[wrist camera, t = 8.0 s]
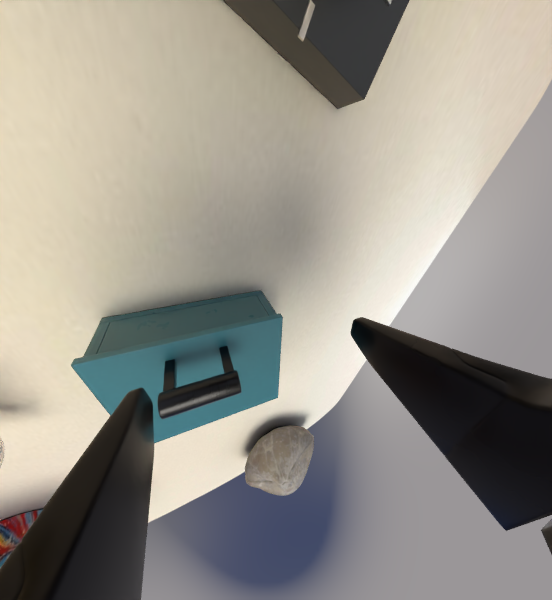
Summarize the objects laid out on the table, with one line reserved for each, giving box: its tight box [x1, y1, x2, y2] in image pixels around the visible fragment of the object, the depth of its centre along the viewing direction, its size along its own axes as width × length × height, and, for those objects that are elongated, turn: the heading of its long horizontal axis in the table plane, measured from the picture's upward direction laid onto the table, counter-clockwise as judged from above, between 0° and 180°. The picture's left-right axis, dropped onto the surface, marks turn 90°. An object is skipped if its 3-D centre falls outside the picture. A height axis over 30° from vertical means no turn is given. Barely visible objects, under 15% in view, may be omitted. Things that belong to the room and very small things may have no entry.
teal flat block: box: [83, 290, 277, 357], centre depth 21 cm, size 12×15×5 cm
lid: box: [71, 314, 283, 443], centre depth 17 cm, size 12×15×5 cm
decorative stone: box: [245, 425, 314, 495], centre depth 38 cm, size 15×10×15 cm
